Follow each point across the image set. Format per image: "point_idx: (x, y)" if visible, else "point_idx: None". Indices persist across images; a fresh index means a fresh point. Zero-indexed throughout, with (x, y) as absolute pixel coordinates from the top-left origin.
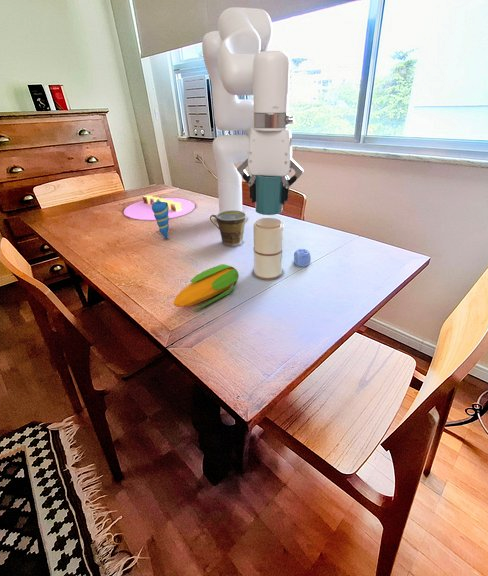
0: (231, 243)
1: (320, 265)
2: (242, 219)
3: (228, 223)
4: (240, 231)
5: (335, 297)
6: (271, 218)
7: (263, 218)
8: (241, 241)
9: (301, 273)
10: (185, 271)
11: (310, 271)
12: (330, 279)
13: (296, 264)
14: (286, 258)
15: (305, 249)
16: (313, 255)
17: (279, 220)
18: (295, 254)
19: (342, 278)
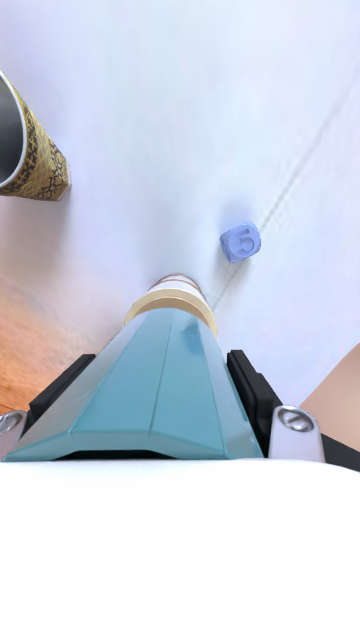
0: (53, 200)
1: (276, 241)
2: (29, 150)
3: (3, 192)
4: (52, 173)
5: (294, 345)
6: (170, 303)
7: (143, 309)
8: (68, 169)
9: (238, 286)
10: (38, 334)
11: (255, 273)
12: (292, 293)
13: (226, 257)
14: (200, 228)
15: (250, 226)
16: (261, 192)
17: (201, 314)
18: (226, 246)
19: (315, 284)
